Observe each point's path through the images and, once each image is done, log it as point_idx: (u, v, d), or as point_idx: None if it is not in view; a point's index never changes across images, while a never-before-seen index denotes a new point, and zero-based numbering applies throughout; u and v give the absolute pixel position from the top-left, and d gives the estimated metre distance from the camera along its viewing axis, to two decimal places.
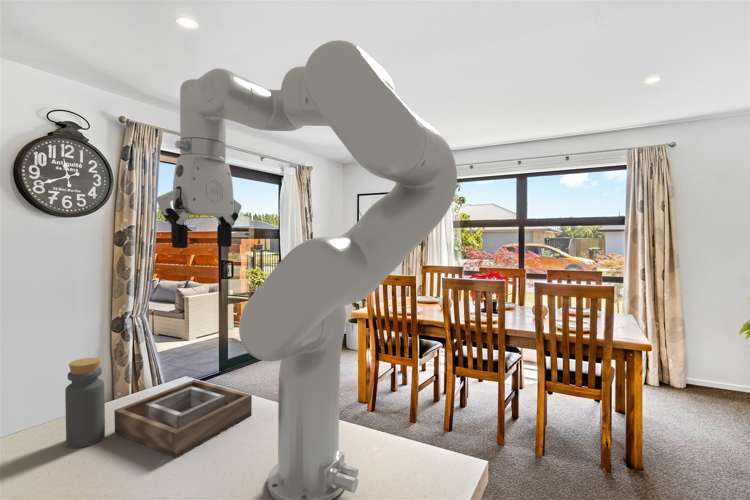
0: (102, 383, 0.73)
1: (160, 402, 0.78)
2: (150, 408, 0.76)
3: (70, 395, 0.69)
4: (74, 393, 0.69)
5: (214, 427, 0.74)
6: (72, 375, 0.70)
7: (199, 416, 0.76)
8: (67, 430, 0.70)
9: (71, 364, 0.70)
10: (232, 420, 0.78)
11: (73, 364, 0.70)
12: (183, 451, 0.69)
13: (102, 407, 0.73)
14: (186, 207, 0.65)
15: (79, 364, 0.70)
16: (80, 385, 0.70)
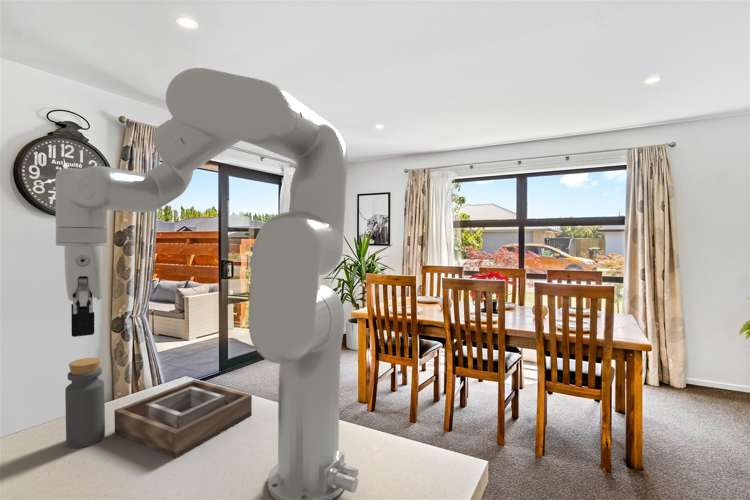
0: (102, 383, 0.73)
1: (160, 402, 0.78)
2: (150, 408, 0.76)
3: (70, 395, 0.69)
4: (74, 393, 0.69)
5: (214, 427, 0.74)
6: (72, 375, 0.70)
7: (199, 416, 0.76)
8: (67, 430, 0.70)
9: (71, 364, 0.70)
10: (232, 420, 0.78)
11: (73, 364, 0.70)
12: (183, 451, 0.69)
13: (102, 407, 0.73)
14: (96, 295, 0.69)
15: (79, 364, 0.70)
16: (80, 385, 0.70)
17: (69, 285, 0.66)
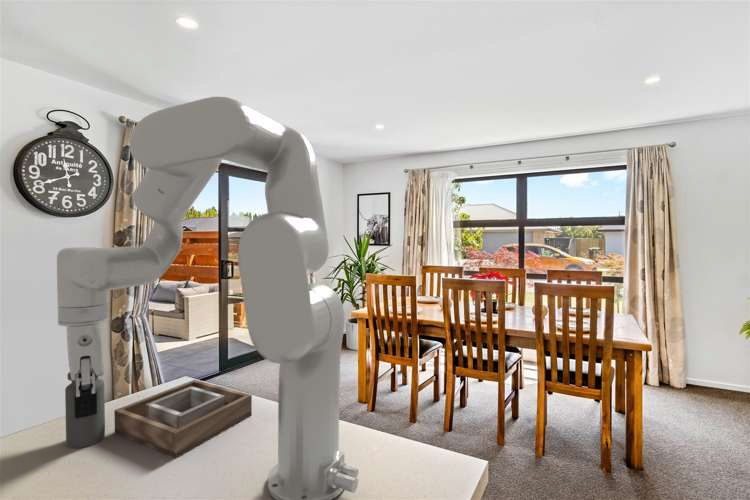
0: (102, 383, 0.73)
1: (160, 402, 0.78)
2: (150, 408, 0.76)
3: (70, 395, 0.69)
4: (74, 393, 0.69)
5: (214, 427, 0.74)
6: None
7: (199, 416, 0.76)
8: (67, 430, 0.70)
9: None
10: (232, 420, 0.78)
11: None
12: (183, 451, 0.69)
13: (102, 407, 0.73)
14: (98, 373, 0.69)
15: None
16: None
17: (72, 366, 0.67)
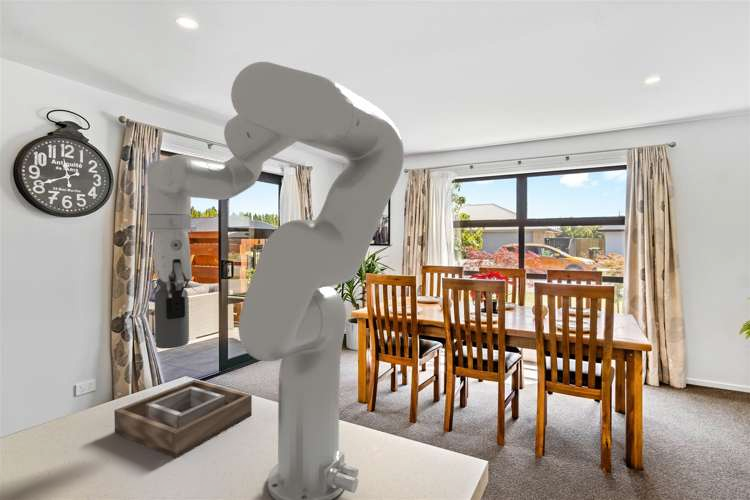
0: (186, 291, 0.78)
1: (160, 402, 0.78)
2: (150, 408, 0.76)
3: (161, 298, 0.74)
4: (164, 296, 0.74)
5: (214, 427, 0.74)
6: None
7: (199, 416, 0.76)
8: (157, 332, 0.74)
9: None
10: (232, 420, 0.78)
11: None
12: (183, 451, 0.69)
13: (187, 313, 0.77)
14: (187, 277, 0.74)
15: None
16: None
17: (165, 267, 0.72)
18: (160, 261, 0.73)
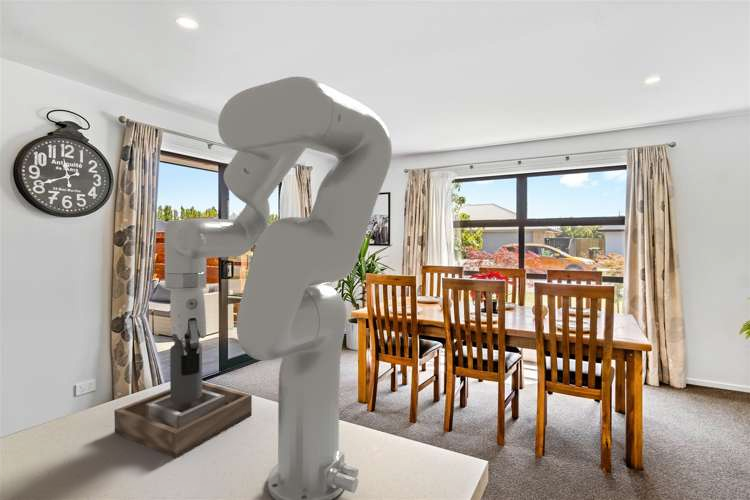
0: (201, 345, 0.79)
1: (160, 402, 0.78)
2: (150, 408, 0.76)
3: (176, 354, 0.76)
4: (180, 353, 0.76)
5: (214, 427, 0.74)
6: None
7: (199, 416, 0.76)
8: (173, 387, 0.76)
9: None
10: (232, 420, 0.78)
11: None
12: (183, 451, 0.69)
13: (201, 367, 0.79)
14: (202, 335, 0.76)
15: None
16: None
17: (181, 327, 0.73)
18: (176, 319, 0.75)
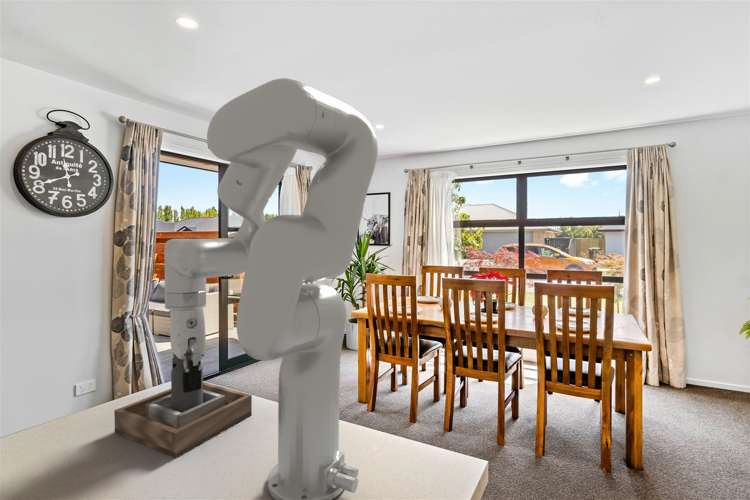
0: (202, 367, 0.79)
1: (160, 402, 0.78)
2: (150, 408, 0.76)
3: (177, 377, 0.76)
4: (181, 375, 0.76)
5: (214, 427, 0.74)
6: (178, 359, 0.76)
7: (199, 416, 0.76)
8: (173, 409, 0.76)
9: None
10: (232, 420, 0.78)
11: None
12: (183, 451, 0.69)
13: (202, 389, 0.79)
14: (202, 353, 0.76)
15: None
16: None
17: (181, 346, 0.74)
18: (176, 338, 0.75)
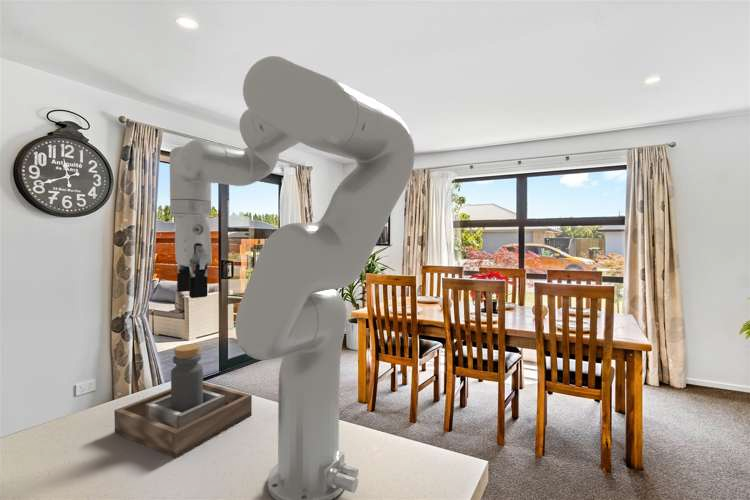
0: (201, 367, 0.79)
1: (160, 402, 0.78)
2: (150, 408, 0.76)
3: (177, 377, 0.76)
4: (181, 375, 0.76)
5: (214, 427, 0.74)
6: (178, 359, 0.76)
7: (199, 416, 0.76)
8: None
9: (176, 349, 0.77)
10: (232, 420, 0.78)
11: (178, 349, 0.77)
12: (183, 451, 0.69)
13: (202, 389, 0.79)
14: (208, 261, 0.76)
15: (183, 349, 0.77)
16: (185, 368, 0.77)
17: (187, 251, 0.74)
18: (182, 245, 0.75)
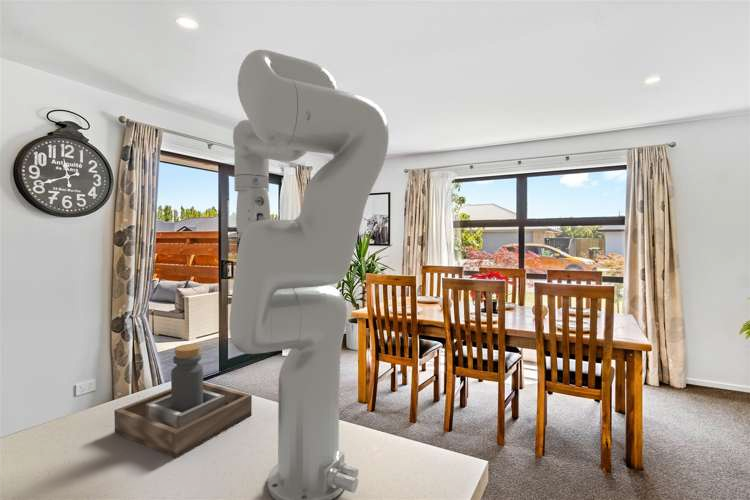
0: (202, 367, 0.79)
1: (160, 402, 0.78)
2: (150, 408, 0.76)
3: (177, 377, 0.76)
4: (181, 375, 0.76)
5: (214, 427, 0.74)
6: (179, 359, 0.76)
7: (199, 416, 0.76)
8: (174, 409, 0.76)
9: (177, 349, 0.77)
10: (232, 420, 0.78)
11: (179, 349, 0.77)
12: (183, 451, 0.69)
13: (202, 389, 0.79)
14: None
15: (184, 349, 0.77)
16: (185, 368, 0.77)
17: (251, 219, 0.84)
18: (245, 215, 0.86)
